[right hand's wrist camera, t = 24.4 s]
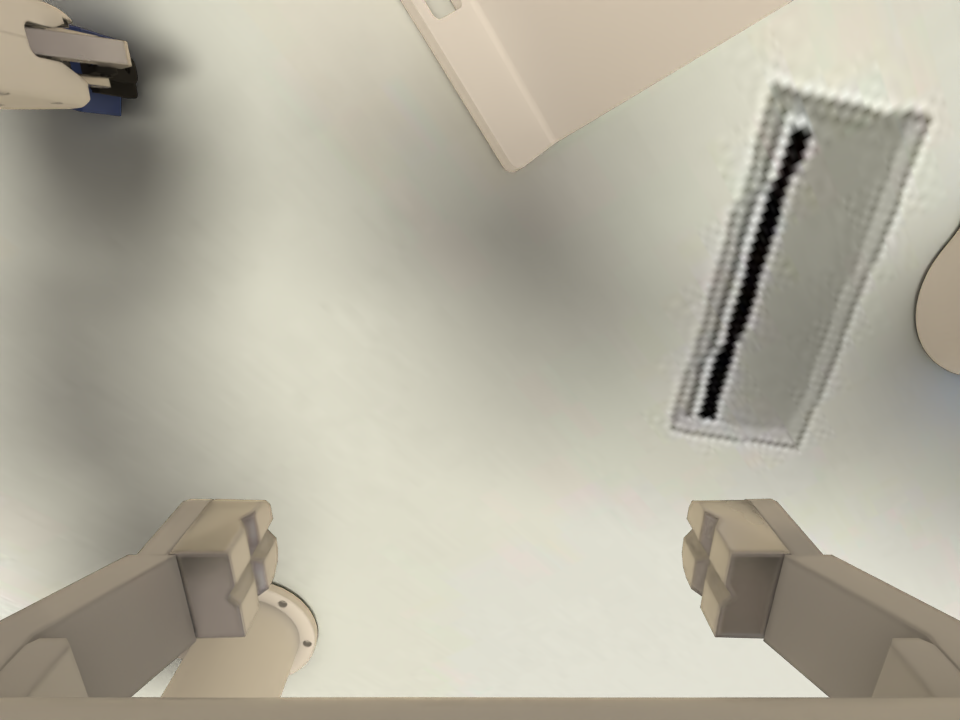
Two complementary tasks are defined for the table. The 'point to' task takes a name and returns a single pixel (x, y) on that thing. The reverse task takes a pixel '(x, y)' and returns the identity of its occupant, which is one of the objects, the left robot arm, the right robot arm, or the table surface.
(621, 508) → the table surface
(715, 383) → the table surface
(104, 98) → the block
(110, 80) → the left robot arm
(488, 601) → the table surface
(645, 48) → the tablet stand
